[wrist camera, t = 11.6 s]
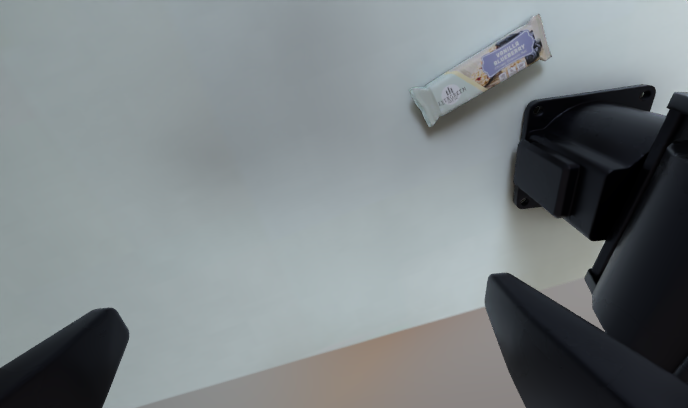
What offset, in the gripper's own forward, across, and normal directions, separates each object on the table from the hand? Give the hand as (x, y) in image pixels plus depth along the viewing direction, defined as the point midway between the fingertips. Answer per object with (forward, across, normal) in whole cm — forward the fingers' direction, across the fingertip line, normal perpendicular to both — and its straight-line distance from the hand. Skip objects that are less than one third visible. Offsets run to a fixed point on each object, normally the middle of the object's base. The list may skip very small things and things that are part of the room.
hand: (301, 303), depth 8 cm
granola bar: (+12, -8, -3) cm, 15 cm away
